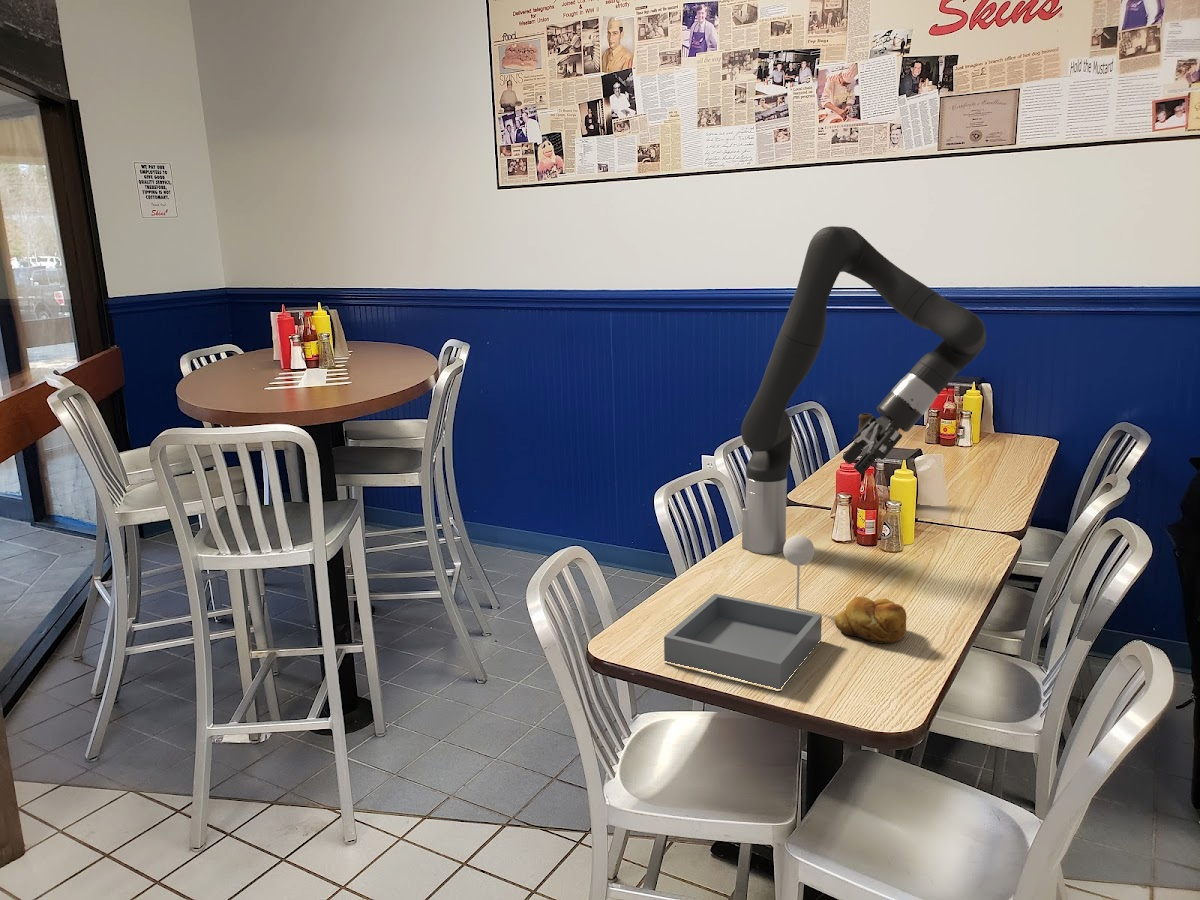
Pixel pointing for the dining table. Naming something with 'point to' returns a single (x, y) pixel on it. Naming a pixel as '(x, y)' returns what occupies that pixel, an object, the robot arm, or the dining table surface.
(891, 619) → the bread roll
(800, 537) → the lollipop
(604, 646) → the dining table surface
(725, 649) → the tray
